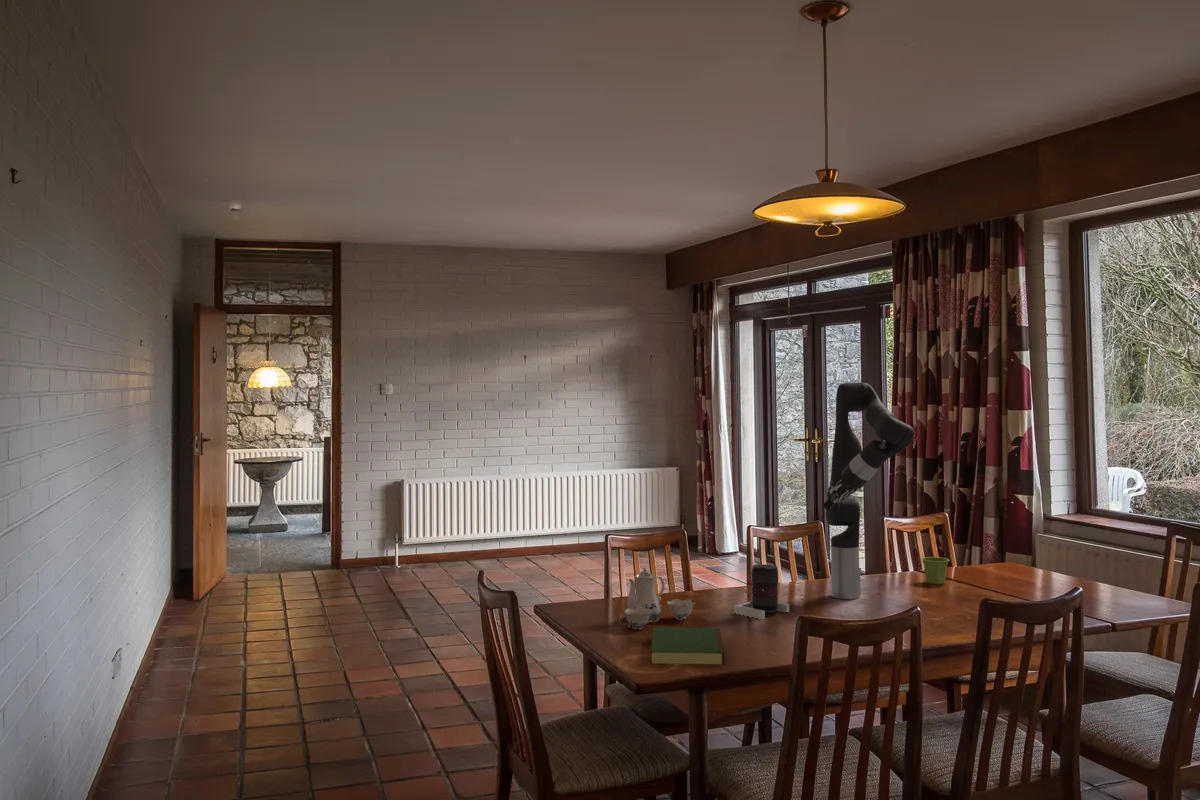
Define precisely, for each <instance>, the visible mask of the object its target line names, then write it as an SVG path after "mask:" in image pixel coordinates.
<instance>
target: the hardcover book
mask: <svg viewBox="0 0 1200 800" xmlns="http://www.w3.org/2000/svg"><path fill="white" fill-rule="evenodd" d="M651 636H652V638H651V647H650V653H651V663H652V664H658V665H659V664H660V665H661V664H662V665H665V664H668V665H669V664H670V665H671V664H672V665H722V664H724V665H725V652H724V651H725V650H724V644H723V640H722V634H721V628H720V627H666V626H665V627H664V626H663V627H662V626H661V627H660V626H658V627H657V626H656V627H652V635H651Z"/></svg>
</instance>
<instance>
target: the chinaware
mask: <svg viewBox="0 0 1200 800" xmlns="http://www.w3.org/2000/svg"><path fill="white" fill-rule="evenodd" d="M634 577H635V580H634V579H632V578H628V581H629V582H630V587H629V593H628V596H627V600H626V608H625V609H624V611H623V612H622V613H623V614H621V615H620V617H619V624H620V625H622V626H626V625H627V627H628V628H629V629H630V628H632V629H633V628H634V629H633V630H636V629H639V630H638V631H640V630H644V629H645V628H644V626H646V625H647V624H650V623H649V622H652V623H657V622H659V621H660V620H661V619H660V617H661V616H662V615H663V613H664V611H665V610H664V608H663V604H661V603H660V602H661V601H662V597H661V595H663V593H664V591H665V581H664V579H663V578H662V576H658V575H657V576H656V574H655V575H654V574H652V573H651V572H650V571H649V570H648V568H647V567H646V566H645V567H644V568H643V569H642V571H640V573H639V574H637V575H634ZM657 579H659V580H660V582H661V589H660V592H659V593H658V594H657V593H656V589H655V583H656V582H657ZM635 581H636V582H635ZM666 604H667V606H668V607H669V611H670V612H671V615H673V616H674V617H675V620H676V619H677V621H686V620H687V619H685V618H687V617H688V616H690V614H691V613H692V610H693V607H694V605H695V604H696V602H695V601H693V600H691V599H689V598H688V599H684V600H682V599H679V598H674V599H672V600H671V601H669V600H667V601H666ZM622 617H624V618H625V619H626V621H627V623H625V624H624V623H622V622H621V620H622V619H621V618H622ZM683 619H685V620H683ZM631 626H632V627H631ZM642 628H643V629H642Z"/></svg>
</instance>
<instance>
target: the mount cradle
mask: <svg viewBox="0 0 1200 800" xmlns="http://www.w3.org/2000/svg"><path fill="white" fill-rule="evenodd" d="M733 608H734V609H733V614H734V613H736V614H735V615H738V614H740V616H743V615H744V617H747V616H749V617H748V618H752V617H754V618H753V619H756V618H758V620H761V619H763V620H766V619H765V617H766V616H765V611H763V610H759V609H754V608H753V603H752V600H751V601H748V602H747V601H746V602H744V603H741V604H735V605H734V607H733ZM780 611H781V612H780ZM776 612H780V613H785V612H788V613H790V603H784V602H781V601H780V602H779V601H778V604H777V609H776Z"/></svg>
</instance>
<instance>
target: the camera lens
mask: <svg viewBox="0 0 1200 800" xmlns="http://www.w3.org/2000/svg"><path fill="white" fill-rule="evenodd" d="M751 583H752V587H751V593H752V596H751V597H752V599H751V601H752V603H753V608H754V609H759V610H763V611H765V617H771V616H775V615H776V614H777V611H776V609H777V604H778V602H779V600H778V599H779V597H778V595H779V594H778V592H779V591H778V584H779V569H778V566H776V565H773V564H761V563H759V564H754V565H752V569H751Z"/></svg>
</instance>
